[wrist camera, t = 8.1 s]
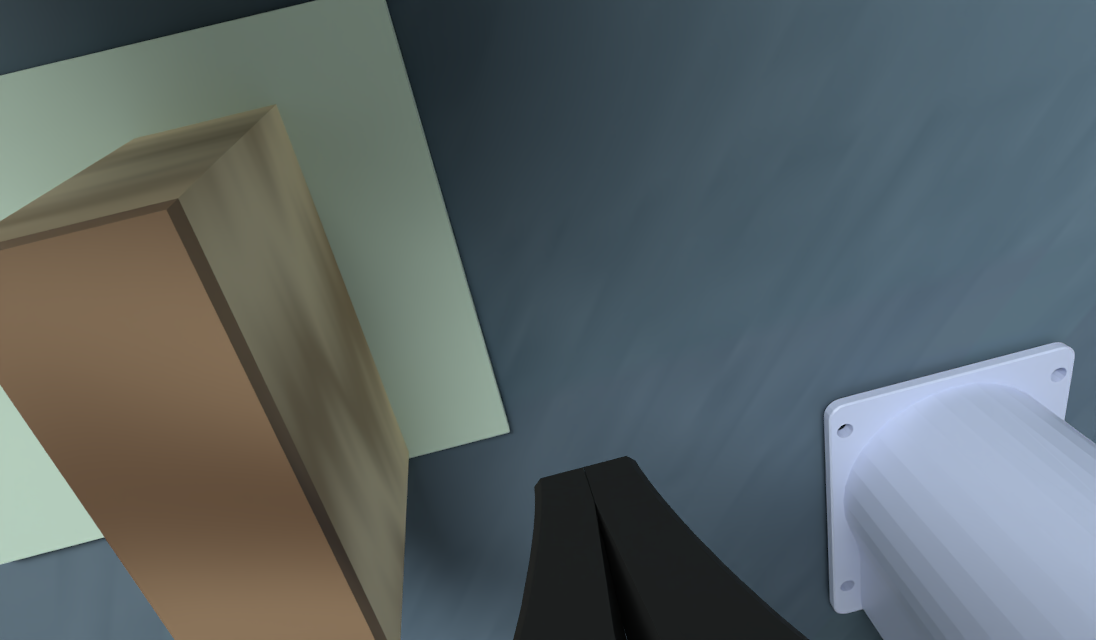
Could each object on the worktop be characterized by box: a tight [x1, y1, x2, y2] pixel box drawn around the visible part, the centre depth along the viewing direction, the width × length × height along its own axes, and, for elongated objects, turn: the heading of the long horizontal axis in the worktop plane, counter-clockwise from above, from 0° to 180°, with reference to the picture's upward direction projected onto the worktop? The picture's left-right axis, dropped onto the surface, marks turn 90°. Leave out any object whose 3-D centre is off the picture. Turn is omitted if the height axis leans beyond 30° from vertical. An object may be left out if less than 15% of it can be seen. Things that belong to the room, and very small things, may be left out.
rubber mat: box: [0, 0, 510, 564], centre depth 18 cm, size 12×15×1 cm
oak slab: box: [0, 104, 409, 640], centre depth 15 cm, size 10×3×8 cm, turn 12°
